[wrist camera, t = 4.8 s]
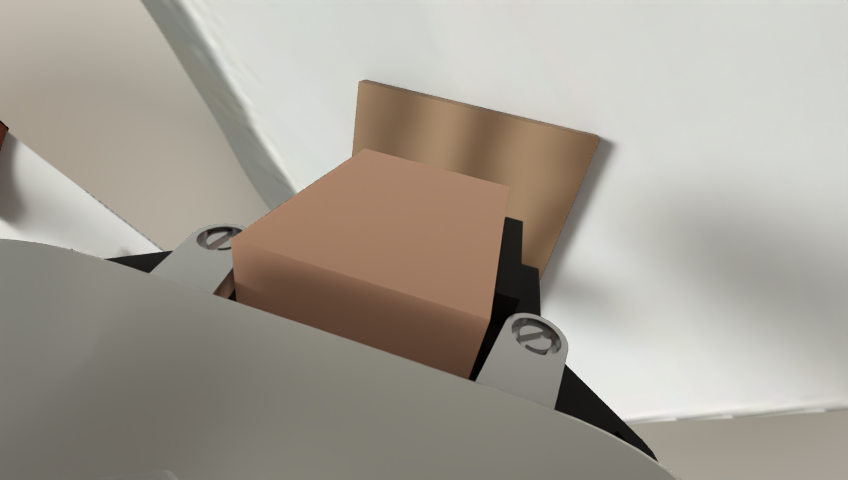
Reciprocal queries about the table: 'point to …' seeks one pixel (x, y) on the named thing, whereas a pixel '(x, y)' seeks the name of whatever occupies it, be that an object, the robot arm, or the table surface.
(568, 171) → the wooden board with post
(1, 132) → the red dustpan
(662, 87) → the table surface
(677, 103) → the table surface
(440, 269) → the salmon orange block
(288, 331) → the robot arm
